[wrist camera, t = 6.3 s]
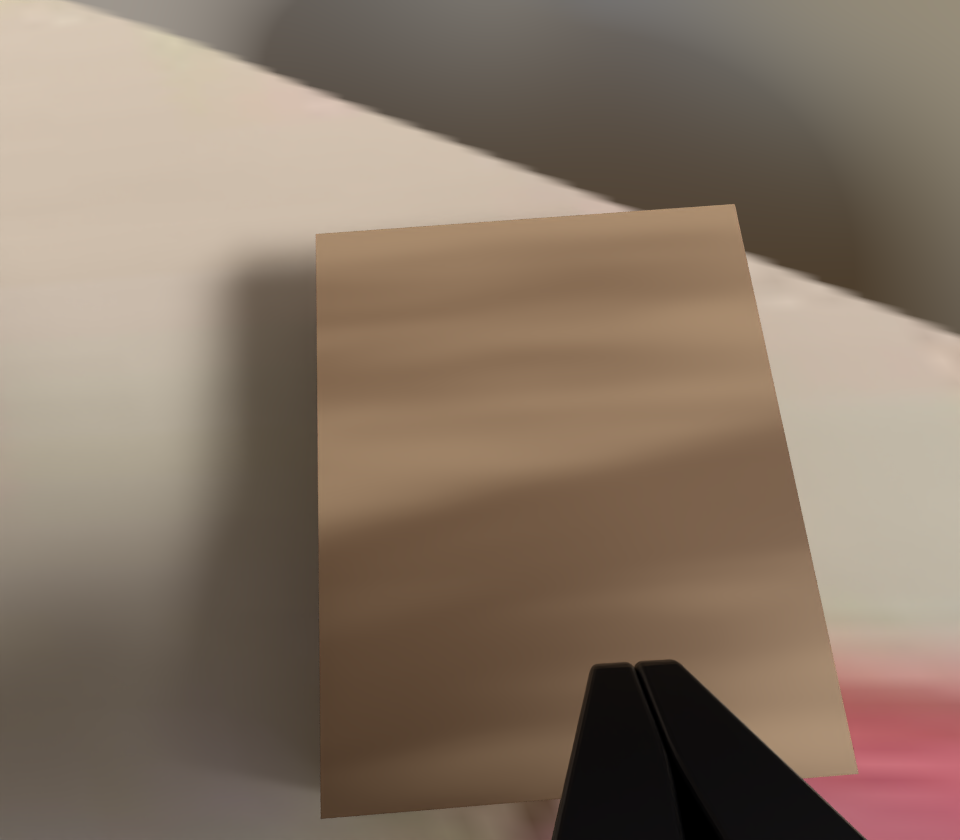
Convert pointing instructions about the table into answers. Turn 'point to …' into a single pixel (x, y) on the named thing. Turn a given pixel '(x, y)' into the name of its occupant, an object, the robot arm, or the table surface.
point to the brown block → (549, 501)
